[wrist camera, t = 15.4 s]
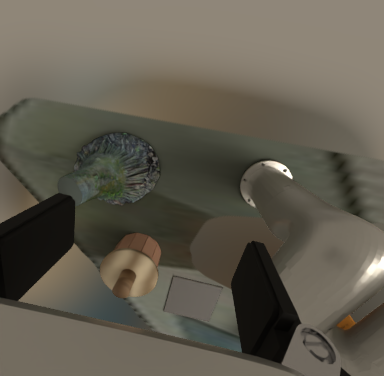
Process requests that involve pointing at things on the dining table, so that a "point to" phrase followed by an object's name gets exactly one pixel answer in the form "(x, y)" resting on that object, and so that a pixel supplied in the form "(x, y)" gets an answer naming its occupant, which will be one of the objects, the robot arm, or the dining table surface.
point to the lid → (129, 272)
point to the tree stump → (112, 170)
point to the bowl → (141, 245)
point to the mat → (192, 298)
